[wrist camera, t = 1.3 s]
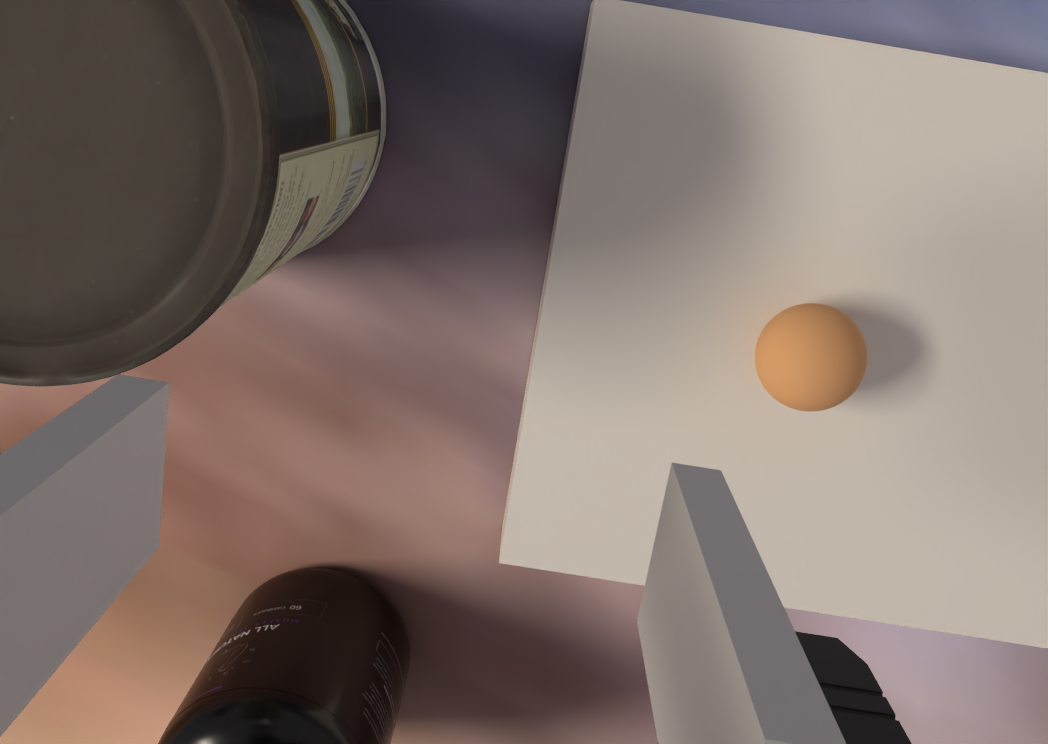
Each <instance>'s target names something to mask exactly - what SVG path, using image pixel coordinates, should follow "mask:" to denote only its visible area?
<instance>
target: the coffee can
mask: <svg viewBox="0 0 1048 744" xmlns="http://www.w3.org/2000/svg"><path fill="white" fill-rule="evenodd" d="M385 137H386V96H385V90H384V83H383V78H382V74H381V70H380V66H379V63H378V60H377V57H376V55H375V52H374V50H373V47H372V45H371V42H370V40H369V38H368V36H367V34H366V32H365V30H364V28H363V27H362V25H361V23H360V21H359V20H358V18H357V16H356V15H355V13H354V11H353V10H352V9H351V8H350V6H349V5H348V4H347V2H346V1H345V0H0V383H3V384H11V385H23V386H57V385H71V384H79V383H85V382H91V381H95V380H99V379H103V378H108V377H111V376H114V375H117V374H120V373H123V372H126V371H128V370H131V369H133V368H135V367H138V366H140V365H142V364H144V363H146V362H148V361H150V360H153V359H155V358H156V357H158V356H160V355H161V354H163V353H165V352H166V351H168V350H169V349H171V348H172V347H174V346H175V345H177V344H178V343H179V342H181V341H182V340H184V339H185V338H186V337H188V336H189V335H190V334H191V333H193V332H194V331H195V330H196V329H197V328H198V327H199V326H200V325H201V324H203V323H204V322H205V321H206V320H207V319H208V318H209V317H210V316H211V315H212V314H213V313H214V312H215V311H216V310H217V309H218V308H219V307H220V306H222V305H223V304H225V303H226V302H228V301H229V300H231V299H232V298H234V297H235V296H237V295H238V294H239V293H241V292H242V291H244V290H246V289H247V288H249V287H250V286H252V285H254V284H255V283H256V282H258V281H259V280H261V279H262V278H263V277H265V276H266V275H268V274H269V273H271V272H272V271H273V270H275V269H276V268H278V267H279V266H281V265H282V264H284V263H285V262H287V261H288V260H290V259H291V258H293V257H294V256H295V255H297V254H298V253H301V252H303V251H305V250H307V249H309V248H311V247H313V246H315V245H317V244H318V243H320V242H321V241H323V240H324V239H326V238H328V237H329V236H330V235H331V234H332V233H333V232H334V231H335V230H336V229H338V228H339V227H340V226H341V225H342V224H343V223H344V222H345V221H346V220H347V219H348V217H349V216H350V215H351V214H352V213H353V211H354V210H355V209H356V208H357V206H358V205H359V204H360V202H361V200H362V199H363V197H364V195H365V194H366V192H367V190H368V188H369V186H370V184H371V182H372V180H373V178H374V175H375V173H376V170H377V168H378V165H379V162H380V158H381V154H382V150H383V145H384V140H385Z"/></svg>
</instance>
